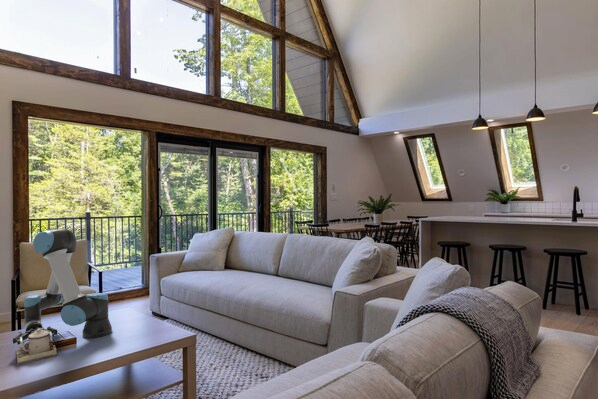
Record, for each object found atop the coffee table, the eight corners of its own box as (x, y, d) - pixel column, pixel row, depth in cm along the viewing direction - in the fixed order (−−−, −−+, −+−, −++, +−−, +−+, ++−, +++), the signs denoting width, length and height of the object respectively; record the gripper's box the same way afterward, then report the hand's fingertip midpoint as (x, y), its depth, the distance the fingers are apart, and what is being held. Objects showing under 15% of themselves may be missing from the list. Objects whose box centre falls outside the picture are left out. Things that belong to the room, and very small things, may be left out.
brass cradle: (17, 357, 186) (17, 353, 186) (54, 348, 195) (54, 344, 195) (17, 362, 180) (17, 358, 179) (56, 353, 189) (56, 349, 189)
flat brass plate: (16, 351, 195) (16, 349, 195) (53, 343, 205) (52, 341, 205) (17, 364, 179) (17, 362, 179) (57, 355, 189) (57, 353, 189)
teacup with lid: (44, 347, 197) (43, 324, 197) (53, 350, 193) (53, 327, 192) (18, 355, 187) (17, 332, 187) (27, 359, 182) (26, 335, 182)
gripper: (60, 330, 211) (65, 342, 194) (6, 341, 197) (6, 355, 179) (59, 317, 211) (64, 328, 194) (6, 326, 196) (6, 339, 179)
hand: (36, 341), depth 187 cm, fingers closed on teacup with lid, 11 cm apart
